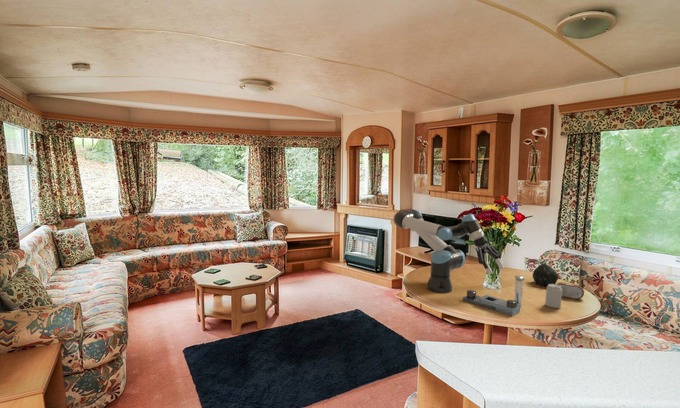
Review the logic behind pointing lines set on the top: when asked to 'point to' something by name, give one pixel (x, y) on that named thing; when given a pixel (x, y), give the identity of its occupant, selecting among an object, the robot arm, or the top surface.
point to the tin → (571, 290)
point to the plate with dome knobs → (493, 303)
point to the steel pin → (518, 289)
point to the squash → (545, 275)
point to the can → (553, 296)
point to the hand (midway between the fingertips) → (496, 271)
